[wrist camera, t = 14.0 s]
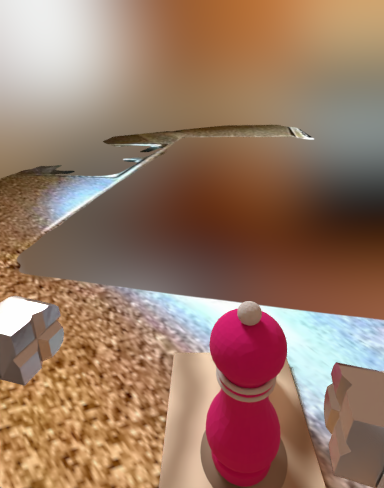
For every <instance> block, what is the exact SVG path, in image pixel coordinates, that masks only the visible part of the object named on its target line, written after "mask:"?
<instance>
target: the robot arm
mask: <svg viewBox="0 0 384 488" xmlns="http://www.w3.org/2000/svg"><path fill="white" fill-rule="evenodd" d="M59 317H60V312H59V308H58V307H57V306H56V305H54V304H50V303H45V302H41V301H37V300H33V299H27V298H23V297H18V296H12V297H9V298H7V299H6V300H4V301H2V302H1V303H0V379H1V380H5V381H9V382H13V383H17V384H21V385H26V384H27V383H28V382H29V380H30V379H31V378H32V377H33V376H34V375H35V374H36V373H37V372H38V371H39V370H40V369H41V368H42V362H43V361H44V360H47V359H49V358H51V357H53V355H54V354H55V353H56V352H57V351H58V350H59V348H60V346H61V344H62V342H63V336H64V332H63V327H62V326H61V324H60V323H59V322H58V321H57V320H58V319H59ZM331 376H332V381H333V384H331V385H329V386H328V387H327V390H326V394H325V401H324V418H325V425H326V428H327V429H328V430H329V431H330V433H331V434H332V436H331V439H330V442H329V450H330V456H331V462H332V468H333V474H334V475H335V476H338V477H341V478H345V479H348V480H351V481H354V482H357V483H360V484H363V485H367V486H370V487H373V488H384V371H377V370H372V369H367V368H362V367H357V366H352V365H347V364H342V363H337V362H336V363H335V365H334V366H333V369H332V372H331ZM0 488H1V487H0Z"/></svg>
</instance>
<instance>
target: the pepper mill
mask: <svg viewBox="0 0 384 488" xmlns="http://www.w3.org/2000/svg"><path fill="white" fill-rule="evenodd" d="M210 352H211V356H212V359H213V361H214V363H215V365H216V377H217V381H218V383H219V385H220V387H221V390H220V392H219V393H218V394H217V395H216V396H215V398H214V399H213V401H212V403H211V405H210V407H209V410H208V413H207V418H206V436H207V441H208V444H209V446H210V448H211V454H212V459H213V462H214V465H215V467H216V469H217V470H218V472H219V473H220V474H221V476H222V477H223V478H225V479H226V480H227V481H228V482H230V483H232V484H234V485H237V486H242V487H248V486H252V485H255V484H257V483H259V482H260V481H262V480H263V479H264V478H265V477H266V475H267V473H268V471H269V469H270V466H271V462H272V461H273V460H274V458H275V456H276V455H277V452H278V450H279V446H280V435H281V432H280V423H279V419H278V416H277V413H276V411H275V408H274V407H273V405H272V403H271V402H270V400H269V395H270V394H271V393H272V391H273V390H274V387H275V384H276V378H277V375H278V374H279V373H280V371H281V370H282V368H283V367H284V364H285V360H286V357H287V342H286V338H285V335H284V333H283V330H282V328H281V327H280V326H279V324H278V323H277V322H276V321H275V320H274V319H273V318H272V317H271V316H269V315H268V314H267V313H265V312H262V311H261V308H260V307H259V306H258V305H257V304H256V303H255V302H252V301H246V302H243V303H242V304H241V305H240V306H239V308H238V309H235V310H232V311H229V312H227V313H226V314H224V315H223V316H222V317H221V318H219V319H218V321H217V322H216V324H215V325H214V327H213V329H212V333H211V337H210Z"/></svg>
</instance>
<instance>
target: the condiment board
mask: <svg viewBox="0 0 384 488" xmlns="http://www.w3.org/2000/svg"><path fill="white" fill-rule="evenodd" d="M220 390H221V387H220V385H219V383H218V381H217V377H216V365H215V363H214V361H213V359H212V356H211V353H174V359H173V368H172V377H171V386H170V395H169V403H168V412H167V421H166V430H165V439H164V447H163V456H162V465H161V474H160V483H159V488H326V487H325V483H324V480H323V477H322V474H321V470H320V467H319V464H318V460H317V457H316V454H315V450H314V447H313V444H312V441H311V437H310V434H309V431H308V427H307V424H306V421H305V417H304V414H303V411H302V407H301V404H300V401H299V398H298V394H297V391H296V388H295V384H294V381H293V378H292V374H291V371H290V368H289V364H288V361H287V358H286V360H285V364H284V367H283V368H282V370H281V371H280V373H279V374H278V375H277V378H276V384H275V387H274V390H273V391H272V393H271V394H270V395H269V400H270V402H271V403H272V405H273V407H274V408H275V411H276V413H277V416H278V419H279V423H280V432H281V435H280V446H279V450H278V452H277V455H276V456H275V458H274V460H273V461H272V462H271V466H270V469H269V471H268V473H267V475H266V477H265V478H264V479H263V480H262V481H260V482H259V483H257V484H255V485H252V486H248V487H242V486H237V485H234V484H232V483H230V482H228V481H227V480H226V479H225V478H223V477H222V476H221V474H220V473H219V472H218V470H217V469H216V467H215V465H214V462H213V459H212V454H211V448H210V446H209V444H208V441H207V436H206V418H207V413H208V410H209V407H210V405H211V403H212V401H213V399H214V398H215V396H216V395H217V394H218V393H219V392H220Z"/></svg>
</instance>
